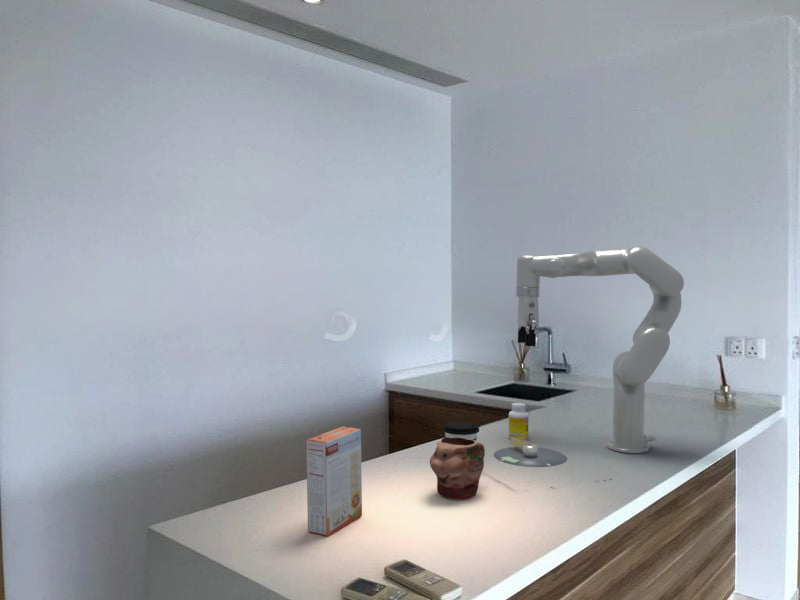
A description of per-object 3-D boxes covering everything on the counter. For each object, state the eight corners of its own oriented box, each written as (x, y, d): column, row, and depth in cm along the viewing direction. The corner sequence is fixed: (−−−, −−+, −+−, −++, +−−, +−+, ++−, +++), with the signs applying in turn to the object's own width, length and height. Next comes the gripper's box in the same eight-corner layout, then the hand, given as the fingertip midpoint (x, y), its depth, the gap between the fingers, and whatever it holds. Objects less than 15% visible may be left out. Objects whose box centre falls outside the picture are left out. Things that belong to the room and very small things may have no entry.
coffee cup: (482, 461, 197) (482, 422, 197) (474, 472, 187) (475, 430, 186) (447, 458, 201) (447, 419, 200) (438, 468, 191) (438, 427, 190)
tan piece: (540, 456, 198) (540, 444, 197) (527, 457, 196) (527, 446, 196) (517, 445, 210) (517, 434, 210) (505, 446, 208) (505, 435, 208)
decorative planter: (461, 478, 181) (462, 429, 180) (500, 487, 173) (500, 436, 173) (418, 497, 166) (418, 443, 165) (458, 509, 158) (458, 452, 157)
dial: (540, 447, 213) (540, 443, 213) (582, 466, 193) (582, 461, 193) (480, 454, 205) (480, 449, 205) (517, 474, 185) (517, 469, 185)
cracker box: (341, 511, 156) (341, 425, 155) (363, 516, 153) (363, 428, 152) (305, 532, 144) (304, 438, 143) (327, 537, 141) (327, 441, 140)
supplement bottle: (528, 444, 217) (528, 406, 216) (507, 443, 218) (508, 405, 217) (528, 439, 223) (528, 402, 223) (508, 438, 224) (509, 401, 224)
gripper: (546, 293, 207) (545, 347, 208) (531, 292, 224) (530, 341, 225) (523, 293, 206) (521, 347, 207) (510, 291, 224) (509, 341, 224)
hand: (526, 344), depth 216 cm, fingers open, 9 cm apart
